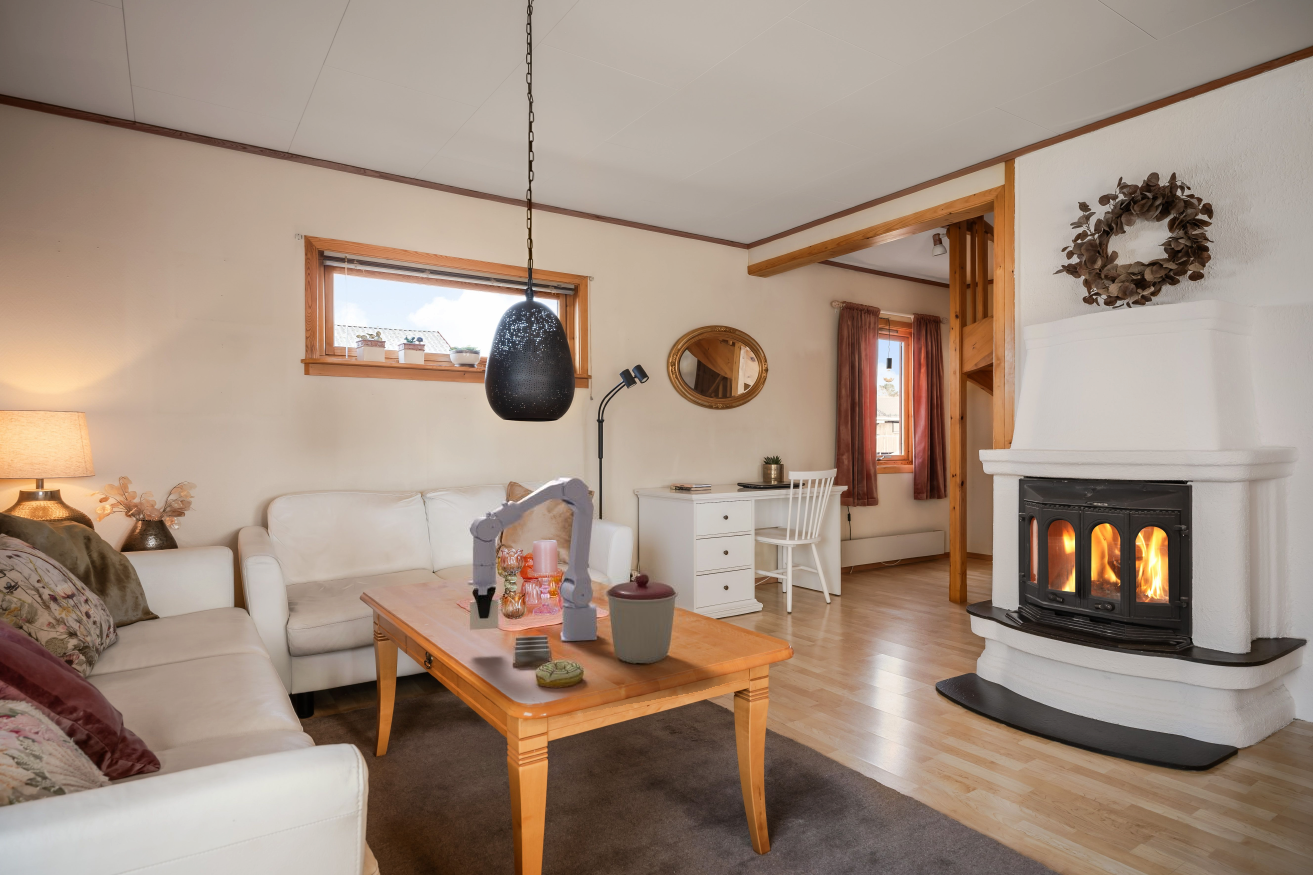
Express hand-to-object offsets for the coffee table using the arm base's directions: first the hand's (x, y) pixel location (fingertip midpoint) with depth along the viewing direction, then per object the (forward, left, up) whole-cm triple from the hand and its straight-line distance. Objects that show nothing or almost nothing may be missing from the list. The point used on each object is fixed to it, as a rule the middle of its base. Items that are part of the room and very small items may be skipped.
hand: (484, 616), depth 183 cm
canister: (-39, +12, -9) cm, 42 cm away
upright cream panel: (0, 0, -3) cm, 3 cm away
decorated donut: (-18, +26, -9) cm, 33 cm away
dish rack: (-12, +7, -9) cm, 16 cm away
